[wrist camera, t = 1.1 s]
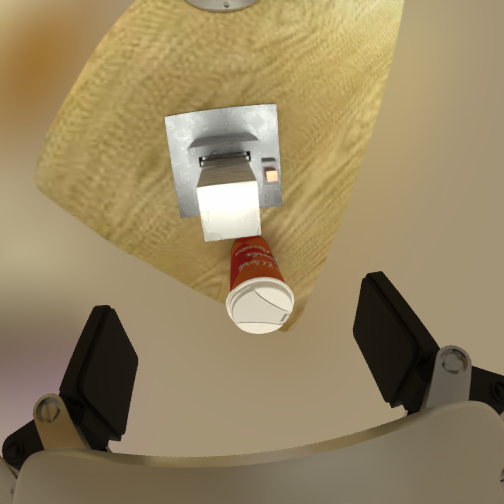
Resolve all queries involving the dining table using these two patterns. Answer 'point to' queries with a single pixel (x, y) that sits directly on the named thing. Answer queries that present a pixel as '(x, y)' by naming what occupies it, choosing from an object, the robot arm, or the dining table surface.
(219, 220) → the column
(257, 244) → the paper cup
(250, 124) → the stand base
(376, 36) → the dining table surface
